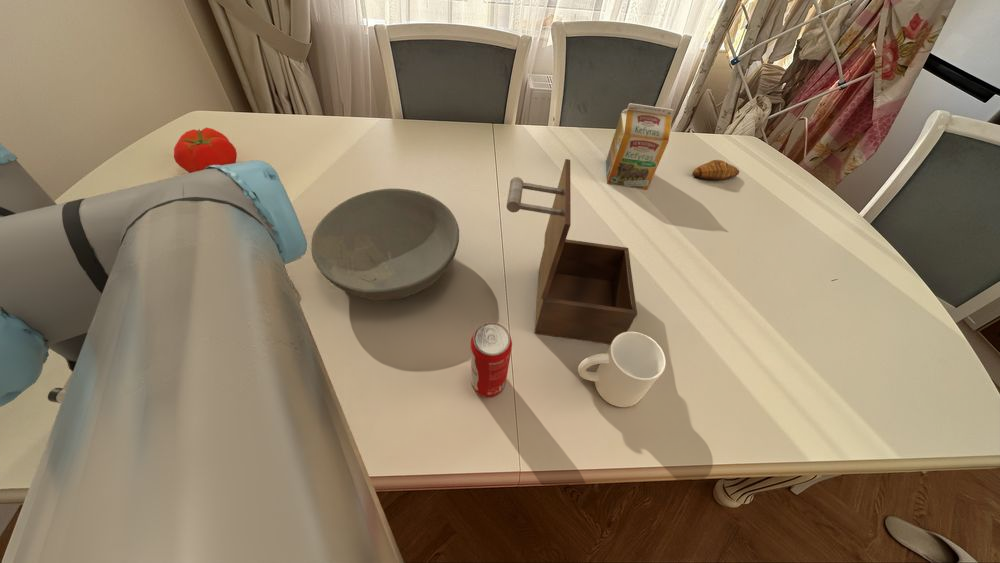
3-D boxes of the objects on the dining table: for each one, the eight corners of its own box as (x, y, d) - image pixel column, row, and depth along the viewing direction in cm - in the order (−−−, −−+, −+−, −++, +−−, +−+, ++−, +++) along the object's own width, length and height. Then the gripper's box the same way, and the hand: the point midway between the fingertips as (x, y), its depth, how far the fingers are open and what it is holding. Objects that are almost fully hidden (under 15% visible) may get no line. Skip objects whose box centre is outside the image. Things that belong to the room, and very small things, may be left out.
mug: (573, 404, 66) (588, 374, 58) (570, 359, 71) (584, 326, 63) (646, 411, 66) (671, 382, 58) (637, 365, 72) (659, 333, 64)
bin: (613, 281, 84) (628, 247, 77) (619, 345, 74) (637, 314, 67) (538, 270, 84) (546, 236, 77) (534, 333, 74) (543, 300, 67)
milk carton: (643, 166, 113) (671, 99, 98) (647, 189, 106) (677, 121, 91) (605, 161, 113) (627, 93, 99) (607, 183, 106) (630, 114, 92)
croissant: (697, 184, 109) (705, 168, 106) (686, 169, 114) (694, 154, 110) (742, 183, 111) (752, 168, 108) (729, 169, 116) (739, 153, 112)
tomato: (183, 159, 99) (164, 126, 92) (241, 151, 103) (226, 119, 96) (183, 190, 91) (162, 157, 85) (244, 179, 96) (229, 147, 89)
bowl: (469, 312, 76) (470, 277, 68) (319, 332, 71) (302, 296, 63) (449, 219, 92) (449, 183, 85) (326, 230, 87) (314, 192, 79)
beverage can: (506, 368, 69) (516, 318, 58) (503, 405, 65) (513, 358, 53) (472, 364, 69) (475, 312, 58) (466, 400, 65) (468, 352, 53)
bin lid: (570, 159, 64) (515, 150, 64) (570, 224, 54) (505, 214, 54) (548, 235, 77) (502, 227, 76) (545, 299, 66) (492, 291, 66)
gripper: (111, 216, 41) (215, 340, 58) (-94, 395, 28) (116, 485, 46) (184, 226, 41) (266, 347, 58) (10, 409, 28) (182, 495, 46)
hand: (200, 408), depth 52 cm, fingers closed on can, 6 cm apart
